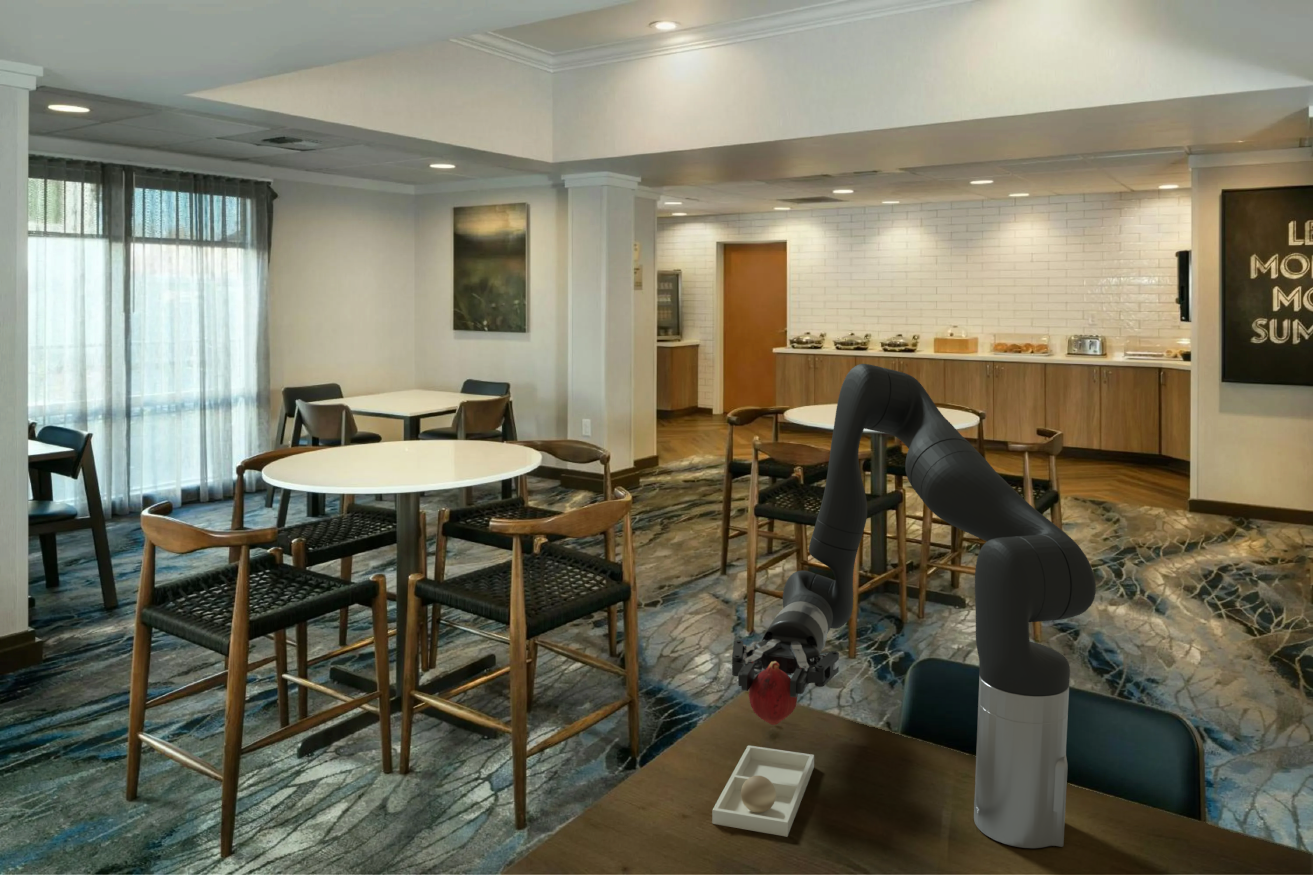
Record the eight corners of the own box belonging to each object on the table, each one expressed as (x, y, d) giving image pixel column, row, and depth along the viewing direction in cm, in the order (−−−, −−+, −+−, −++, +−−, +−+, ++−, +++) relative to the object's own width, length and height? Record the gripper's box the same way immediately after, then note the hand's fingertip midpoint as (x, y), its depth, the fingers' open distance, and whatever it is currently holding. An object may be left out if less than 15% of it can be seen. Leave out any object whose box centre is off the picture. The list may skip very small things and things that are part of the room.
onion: (781, 739, 112) (781, 675, 111) (740, 727, 116) (739, 664, 114) (805, 721, 117) (805, 659, 116) (765, 709, 120) (764, 649, 119)
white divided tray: (813, 772, 120) (814, 754, 119) (787, 842, 104) (787, 822, 104) (747, 762, 122) (747, 745, 122) (712, 829, 107) (712, 809, 107)
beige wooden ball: (779, 804, 111) (779, 771, 110) (771, 822, 107) (771, 788, 106) (745, 798, 112) (745, 766, 111) (737, 816, 108) (736, 783, 108)
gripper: (744, 604, 130) (710, 649, 115) (850, 615, 126) (829, 663, 110) (744, 656, 132) (710, 708, 116) (849, 669, 127) (828, 724, 111)
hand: (768, 686), depth 113 cm, fingers closed on onion, 5 cm apart
